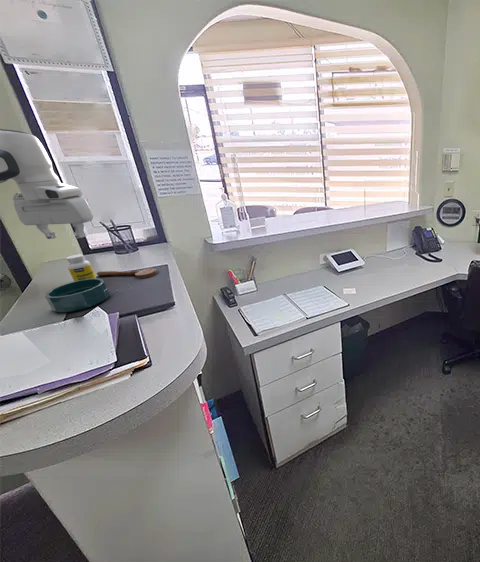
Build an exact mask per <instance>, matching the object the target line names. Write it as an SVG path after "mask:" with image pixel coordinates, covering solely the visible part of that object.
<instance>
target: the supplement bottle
mask: <svg viewBox="0 0 480 562" xmlns="http://www.w3.org/2000/svg"><path fill="white" fill-rule="evenodd" d="M66 260H67V263H68V264H67V269H68V271H69V273H70V275H71V277H72V279H73V282H74V281H79V280H84V279H91V278H97V275H96V274H95V273H96V272H94V269H93V267H92V264H91V262H90V261H89V260H86V258H85V256H84V254H80V253H79V254H72V255H69V256H67V257H66Z"/></svg>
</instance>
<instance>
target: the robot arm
mask: <svg viewBox="0 0 480 562" xmlns="http://www.w3.org/2000/svg"><path fill="white" fill-rule="evenodd" d="M9 180H12V181H14V182H15V183H16V185H17V187H18V189H19V191H20V192H15V193H14V195H13V197H12V201H13V206H14V210H15V212H16V215H17V217H18V219H19V221H20V223H22V224H23V226H36V229H37V230H38V231H40V232H41V233H42V234H44V236H45V238H46V239H48V240H53V239H57V234H56V233H55V231H52V230H51V229H50V228H49V225H67V224H68V225H70V224H72V227H73V228H75V231H74V232H73V235H74V238H76V239H82V238H85V237H86V234H85V232H84V230H85V224H86V223H89V222H92V221H93V219H94V214H93V211H92V209H91V207H90V204H88V201H87V200H86V199H85V198H84V197H83V191H82V189H81V188H80V187H77V186H74V185H70V184H67V183H64V182H61V180H60V178H59V176H58V175H57V173H55V171H54V168H53V163H52V160H51V158H50V157H49V155H48V152H47V151H46V149H45V147H44V145H43V143H42V142H41V141H40V140H39V138H37V136H35V135H34V134H32V133H29V132H27V131H22V130H16V129H8V128H5V129H4V128H0V184H3V183H5V182H8V181H9Z"/></svg>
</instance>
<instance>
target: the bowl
mask: <svg viewBox="0 0 480 562" xmlns="http://www.w3.org/2000/svg"><path fill="white" fill-rule="evenodd" d="M109 297H110V292H109V289H108V287H107V285H106V283H105V281H104V279H103V278H99V277H98V278H97V277H96V278H91V279H84V280H79V281H74V280H73V281H71V282H67V283H64V284H61V285H58V286H56V287H54V288H51V289H50V290H48V291H47V292H45V294H44V298H45V299H46V301H47V303H48V305H49V307H50V308H51V310H52V311H54V312H55V313H74V312H78V311H83V310H85V309H86V310H87V309H89V308H92V307H94V306H97V305H99V304H101V303H103V302H104V301H105V300H107V299H108V298H109Z"/></svg>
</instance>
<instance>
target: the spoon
mask: <svg viewBox="0 0 480 562" xmlns="http://www.w3.org/2000/svg"><path fill="white" fill-rule="evenodd" d="M157 273H158V272H157V269H156V268H151V267H150V268H145V269H141V270H109V271H108V270H107V271H106V270H105V271H104V270H103V271H97V272H96V276H98V277H120V276H121V277H122V276H127V277H128V276H134V277H135V278H136V279H147V278H151V277H153V276H155V275H156V274H157Z"/></svg>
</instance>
